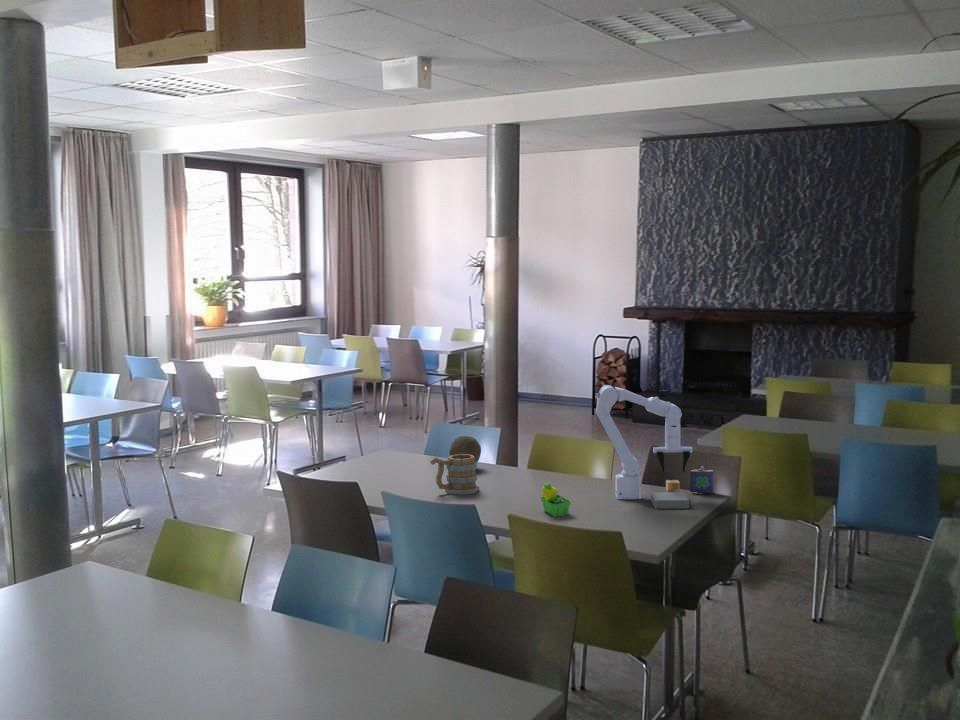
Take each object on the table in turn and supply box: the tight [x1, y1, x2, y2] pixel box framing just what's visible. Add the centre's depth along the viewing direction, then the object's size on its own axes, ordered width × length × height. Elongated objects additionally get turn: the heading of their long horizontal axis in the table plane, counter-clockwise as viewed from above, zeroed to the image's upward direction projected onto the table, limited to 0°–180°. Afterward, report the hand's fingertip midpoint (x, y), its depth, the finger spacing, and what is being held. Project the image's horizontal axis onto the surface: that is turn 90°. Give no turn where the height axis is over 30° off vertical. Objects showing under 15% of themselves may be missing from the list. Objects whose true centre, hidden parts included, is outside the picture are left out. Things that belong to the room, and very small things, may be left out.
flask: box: [689, 465, 715, 495], centre depth 341 cm, size 9×3×11 cm, turn 87°
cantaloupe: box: [448, 435, 482, 464], centre depth 392 cm, size 14×14×15 cm
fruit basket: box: [540, 482, 572, 517], centre depth 317 cm, size 11×9×11 cm
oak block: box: [665, 479, 681, 492], centre depth 337 cm, size 4×4×6 cm
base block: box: [650, 491, 690, 509], centre depth 326 cm, size 12×12×3 cm
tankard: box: [429, 454, 480, 496], centre depth 351 cm, size 20×13×15 cm, turn 115°
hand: (672, 471), depth 336 cm, fingers open, 7 cm apart
